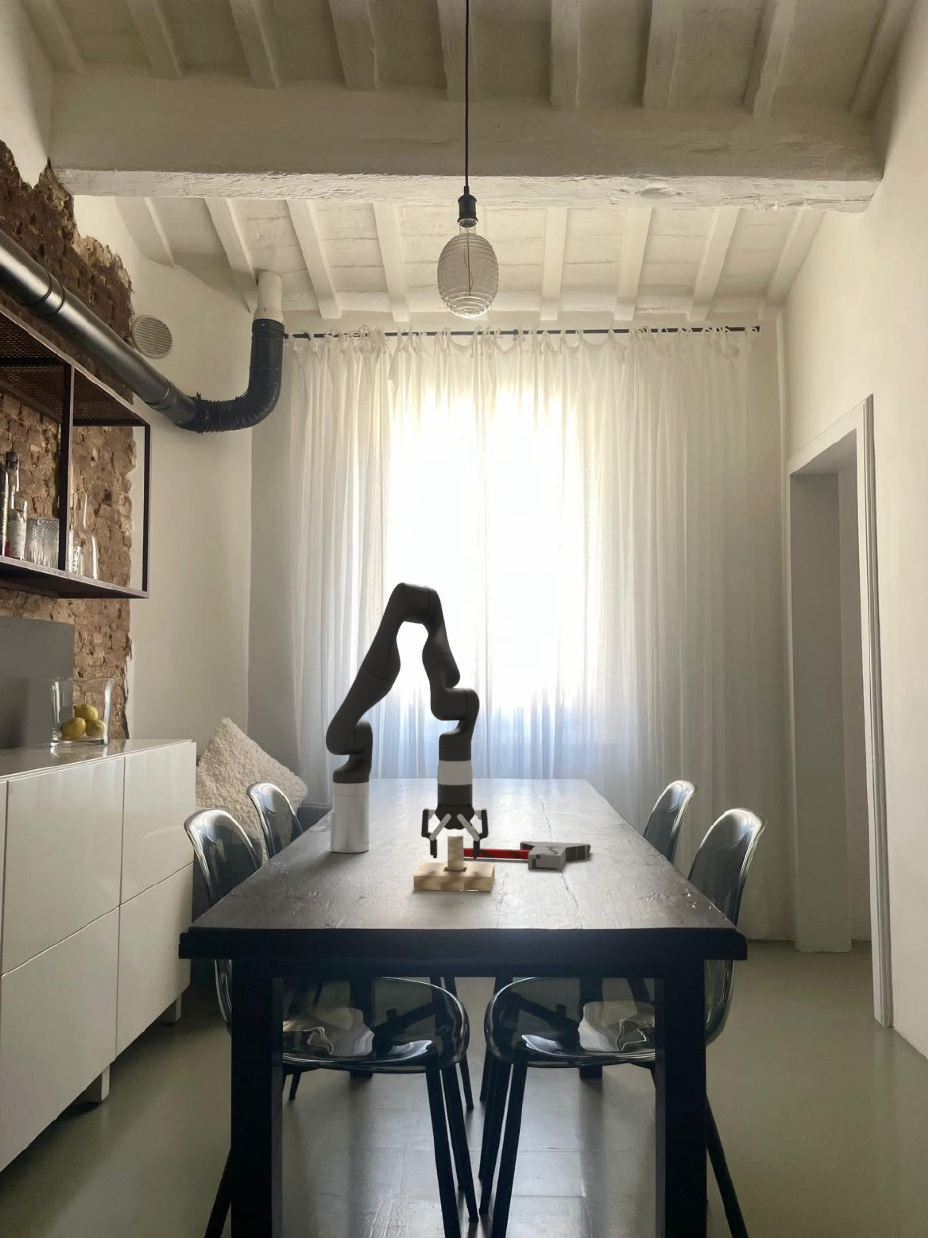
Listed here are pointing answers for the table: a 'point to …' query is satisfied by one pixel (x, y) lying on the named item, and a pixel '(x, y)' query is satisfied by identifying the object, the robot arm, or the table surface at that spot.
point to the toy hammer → (539, 854)
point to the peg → (455, 853)
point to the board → (454, 877)
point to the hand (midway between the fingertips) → (454, 858)
